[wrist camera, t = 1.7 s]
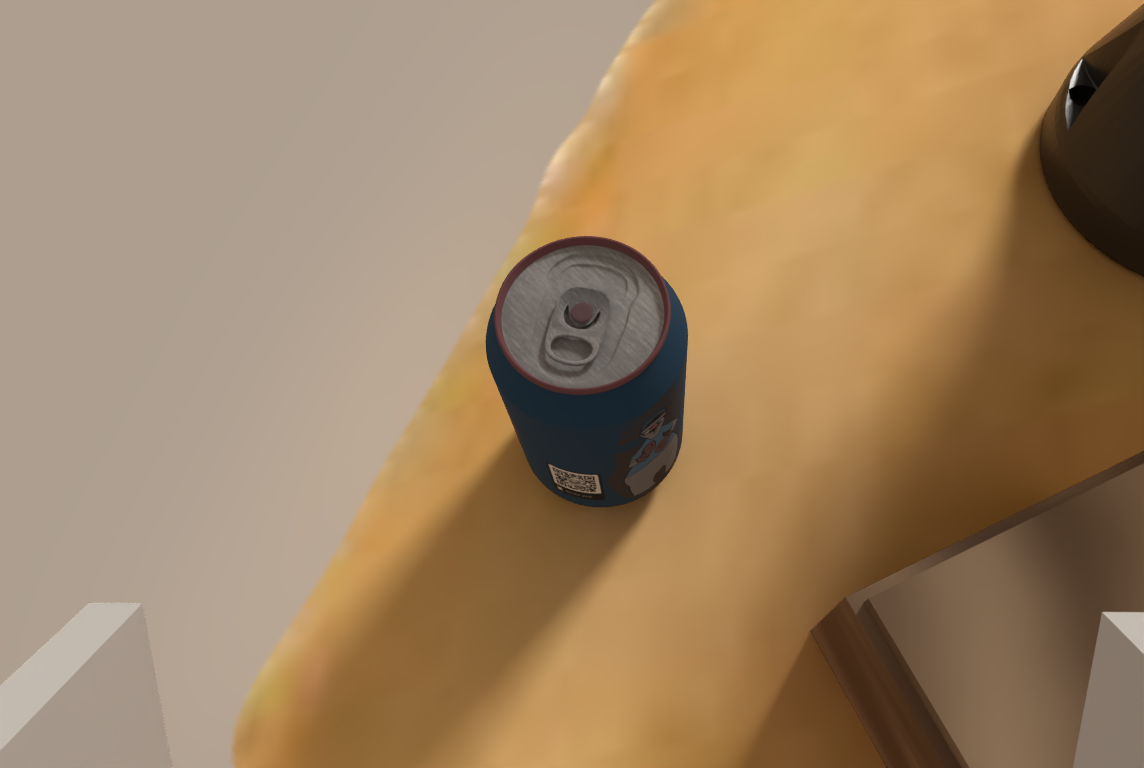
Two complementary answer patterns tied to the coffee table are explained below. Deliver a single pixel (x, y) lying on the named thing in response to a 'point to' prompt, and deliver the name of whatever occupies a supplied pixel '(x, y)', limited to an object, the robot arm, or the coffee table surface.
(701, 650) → the coffee table surface
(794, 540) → the coffee table surface
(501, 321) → the soda can
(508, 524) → the coffee table surface
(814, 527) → the coffee table surface
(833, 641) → the block
